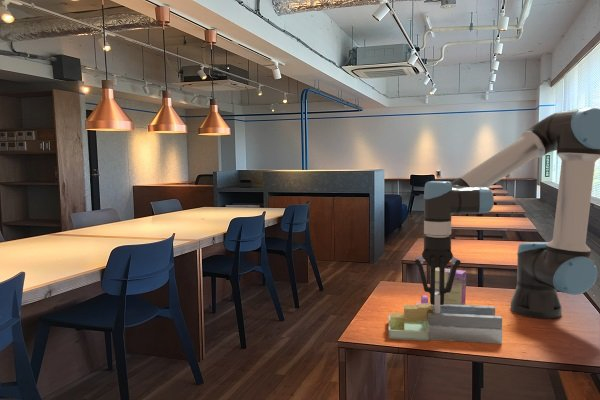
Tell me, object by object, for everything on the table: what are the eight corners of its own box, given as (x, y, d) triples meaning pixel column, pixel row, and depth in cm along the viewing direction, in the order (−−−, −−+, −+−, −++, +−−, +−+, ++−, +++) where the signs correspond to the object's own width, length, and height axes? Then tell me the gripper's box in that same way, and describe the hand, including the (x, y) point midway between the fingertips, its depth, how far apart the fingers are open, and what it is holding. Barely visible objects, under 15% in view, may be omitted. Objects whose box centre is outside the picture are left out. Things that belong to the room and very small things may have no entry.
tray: (425, 324, 149) (425, 316, 149) (428, 341, 135) (428, 332, 135) (388, 322, 151) (388, 314, 151) (388, 338, 137) (388, 330, 137)
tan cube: (418, 318, 144) (417, 304, 144) (418, 322, 140) (418, 308, 140) (404, 318, 145) (403, 305, 145) (404, 322, 141) (404, 309, 141)
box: (465, 303, 169) (466, 270, 168) (461, 308, 165) (462, 273, 164) (436, 299, 175) (436, 266, 174) (431, 303, 170) (431, 270, 169)
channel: (492, 328, 144) (493, 305, 144) (502, 343, 133) (502, 318, 132) (425, 325, 148) (425, 302, 147) (428, 339, 136) (428, 315, 136)
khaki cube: (404, 313, 145) (390, 312, 146) (404, 317, 141) (390, 317, 142) (403, 326, 145) (390, 325, 146) (404, 331, 142) (390, 330, 142)
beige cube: (431, 316, 143) (431, 303, 143) (433, 321, 140) (432, 307, 139) (417, 316, 144) (417, 303, 144) (418, 321, 140) (418, 307, 140)
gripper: (459, 233, 142) (458, 312, 144) (413, 232, 144) (413, 310, 146) (463, 237, 134) (462, 320, 136) (414, 237, 137) (414, 318, 139)
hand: (436, 315), depth 141 cm, fingers closed
